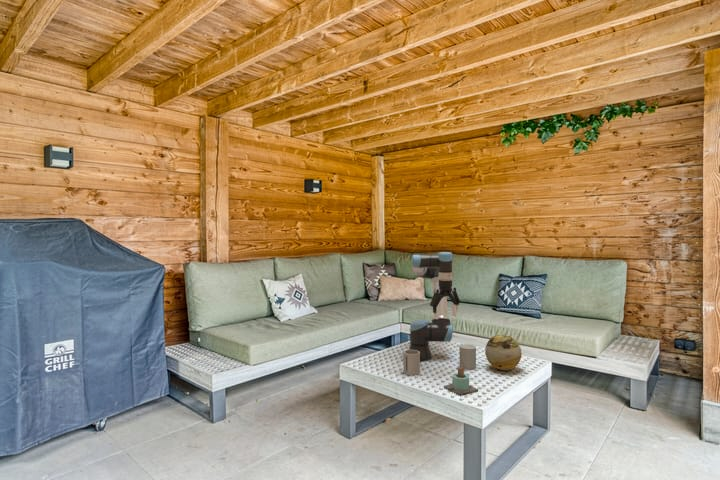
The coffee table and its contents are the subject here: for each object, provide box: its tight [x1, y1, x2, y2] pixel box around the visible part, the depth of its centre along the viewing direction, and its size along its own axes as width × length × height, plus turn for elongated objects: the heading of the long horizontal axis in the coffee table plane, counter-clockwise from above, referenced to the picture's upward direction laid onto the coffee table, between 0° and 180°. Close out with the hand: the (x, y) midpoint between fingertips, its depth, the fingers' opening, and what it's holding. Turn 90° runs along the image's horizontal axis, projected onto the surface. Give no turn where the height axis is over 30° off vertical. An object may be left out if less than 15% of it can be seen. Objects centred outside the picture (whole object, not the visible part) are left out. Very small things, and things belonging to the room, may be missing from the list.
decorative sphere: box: [484, 334, 523, 371], centre depth 239 cm, size 20×20×20 cm
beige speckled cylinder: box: [459, 343, 477, 371], centre depth 244 cm, size 10×10×12 cm
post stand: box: [443, 367, 479, 397], centre depth 210 cm, size 12×12×11 cm
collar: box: [451, 372, 470, 391], centre depth 210 cm, size 8×8×6 cm
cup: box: [403, 349, 421, 377], centre depth 235 cm, size 9×9×12 cm
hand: (445, 317), depth 233 cm, fingers open, 13 cm apart
